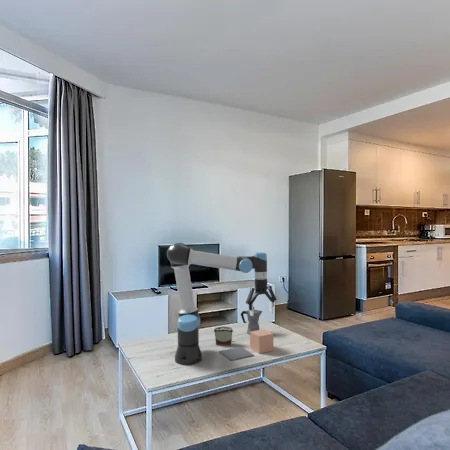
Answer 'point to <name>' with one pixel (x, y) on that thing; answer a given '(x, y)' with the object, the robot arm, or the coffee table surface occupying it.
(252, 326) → the coffeepot
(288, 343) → the coffee table surface
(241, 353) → the mat
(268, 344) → the salmon peach cube
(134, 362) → the coffee table surface
